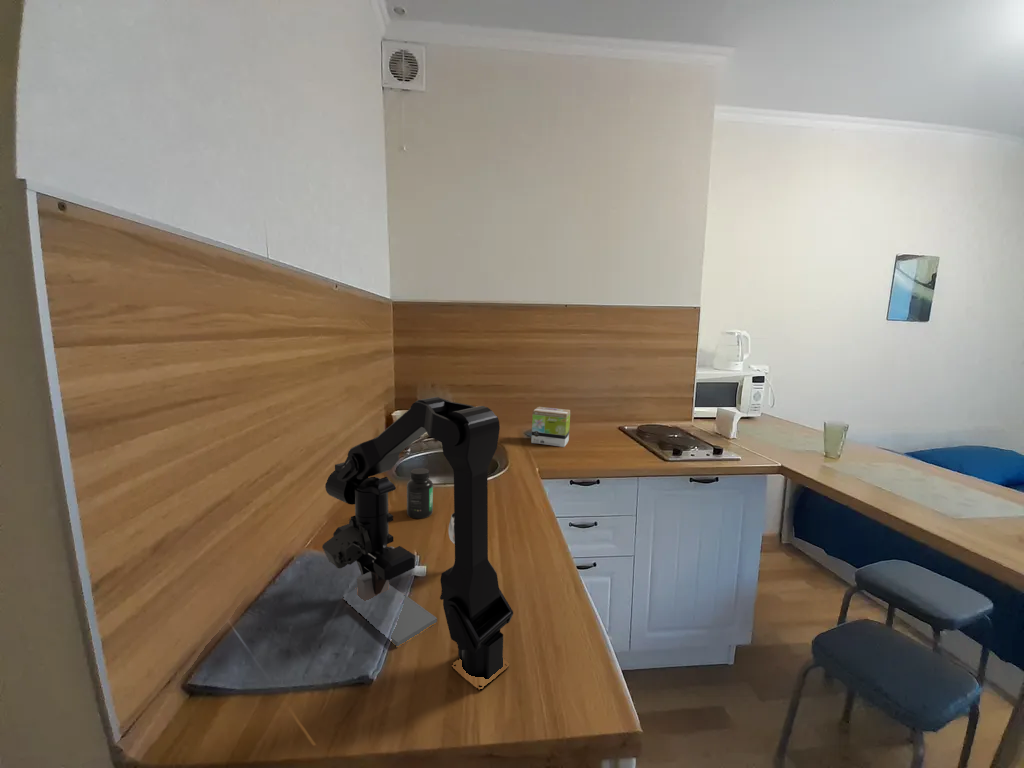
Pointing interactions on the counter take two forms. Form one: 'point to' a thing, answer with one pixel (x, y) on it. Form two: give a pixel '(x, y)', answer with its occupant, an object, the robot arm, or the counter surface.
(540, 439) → the tea box
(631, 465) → the counter surface
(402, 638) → the panel
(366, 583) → the stub
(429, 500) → the supplement bottle
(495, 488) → the counter surface
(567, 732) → the counter surface
